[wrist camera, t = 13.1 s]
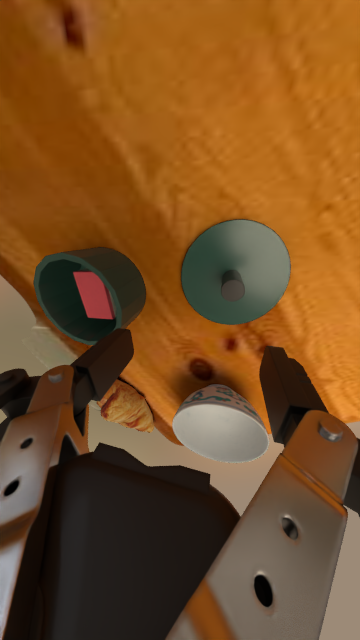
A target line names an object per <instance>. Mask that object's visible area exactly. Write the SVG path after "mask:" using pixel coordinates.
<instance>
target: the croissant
mask: <svg viewBox="0 0 360 640" xmlns="http://www.w3.org/2000/svg"><path fill="white" fill-rule="evenodd" d="M97 404H98V405H99V406H100V407H101V416H102V417H103V418H104V419H105V420H106V421H111V422H118V423H119V424H121V425H122V426H125V427H128V428H135V429H137V430H138V431H142V432H143V431H144V432H145V431H147V432H149V433H150V432H152V431H153V429H154V422H153V416H152V413H151V411H150V408H149V406H148V405H147V403H146V401H145V398H144V397H143V396H141V395H140V394H139V393H138V392H137V391H136V390H135V389H134V388H132V387H131V386H130V385H128V384H126V383H124V382H122V381H120V380H118V379H116V381H115V382H114V383H113V385H112V386H111V387H110V389H109V390H108V391H107V393H106V394H105V395H104V397H103V398H102V399H101V401H100V402H99V401H97Z"/></svg>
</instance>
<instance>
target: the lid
mask: <svg viewBox="0 0 360 640" xmlns="http://www.w3.org/2000/svg"><path fill="white" fill-rule="evenodd" d="M290 270H291V264H290V257H289V253H288V250H287V248H286V246H285V244H284V242H283V241H282V239H281V238H280V237H279V236H278V235H277V234H276V233H275V232H274V231H273V230H272V229H270V228H269V227H267V226H265V225H263V224H261V223H259V222H255V221H252V220H245V219H239V220H230V221H226V222H222V223H219V224H217V225H215V226H213V227H211V228H209V229H208V230H206V231H205V232H204V233H202V234H201V235H200V236H199V237H198V238H197V239H196V240H195V241H194V243H193V244H192V245H191V247H190V248H189V250H188V252H187V254H186V256H185V259H184V262H183V265H182V272H181V281H182V287H183V291H184V294H185V296H186V298H187V300H188V302H189V303H190V305H191V306H192V307H193V308H194V310H195V311H196V312H198V313H199V314H200V315H202V316H203V317H205V318H206V319H208V320H211V321H213V322H216V323H221V324H229V325H234V324H242V323H247V322H250V321H253V320H255V319H257V318H259V317H261V316H263V315H264V314H266V313H267V312H268V311H270V310H271V309H272V308H273V307H274V306H275V305H276V304H277V302H278V301H279V300H280V299H281V297H282V295H283V294H284V292H285V290H286V288H287V285H288V282H289V278H290Z"/></svg>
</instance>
